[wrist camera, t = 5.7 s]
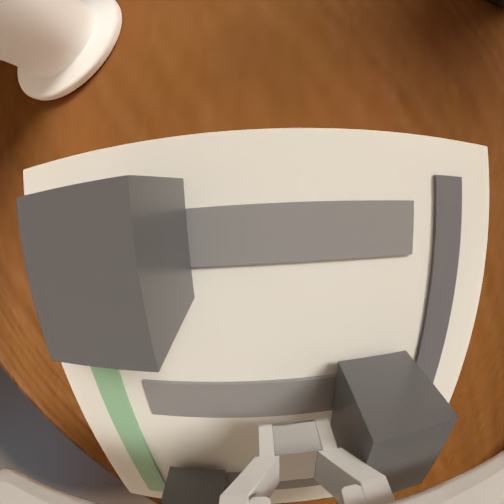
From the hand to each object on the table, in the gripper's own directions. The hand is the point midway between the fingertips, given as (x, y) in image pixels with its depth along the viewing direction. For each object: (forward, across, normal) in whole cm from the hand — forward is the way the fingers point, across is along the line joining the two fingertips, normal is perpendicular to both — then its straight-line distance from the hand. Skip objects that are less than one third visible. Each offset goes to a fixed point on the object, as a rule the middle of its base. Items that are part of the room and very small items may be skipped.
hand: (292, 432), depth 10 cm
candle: (+5, -11, +18) cm, 22 cm away
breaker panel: (+5, -1, 0) cm, 5 cm away
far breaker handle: (+2, -5, -7) cm, 9 cm away
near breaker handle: (+2, -5, +7) cm, 9 cm away
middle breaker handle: (+2, +3, 0) cm, 4 cm away
